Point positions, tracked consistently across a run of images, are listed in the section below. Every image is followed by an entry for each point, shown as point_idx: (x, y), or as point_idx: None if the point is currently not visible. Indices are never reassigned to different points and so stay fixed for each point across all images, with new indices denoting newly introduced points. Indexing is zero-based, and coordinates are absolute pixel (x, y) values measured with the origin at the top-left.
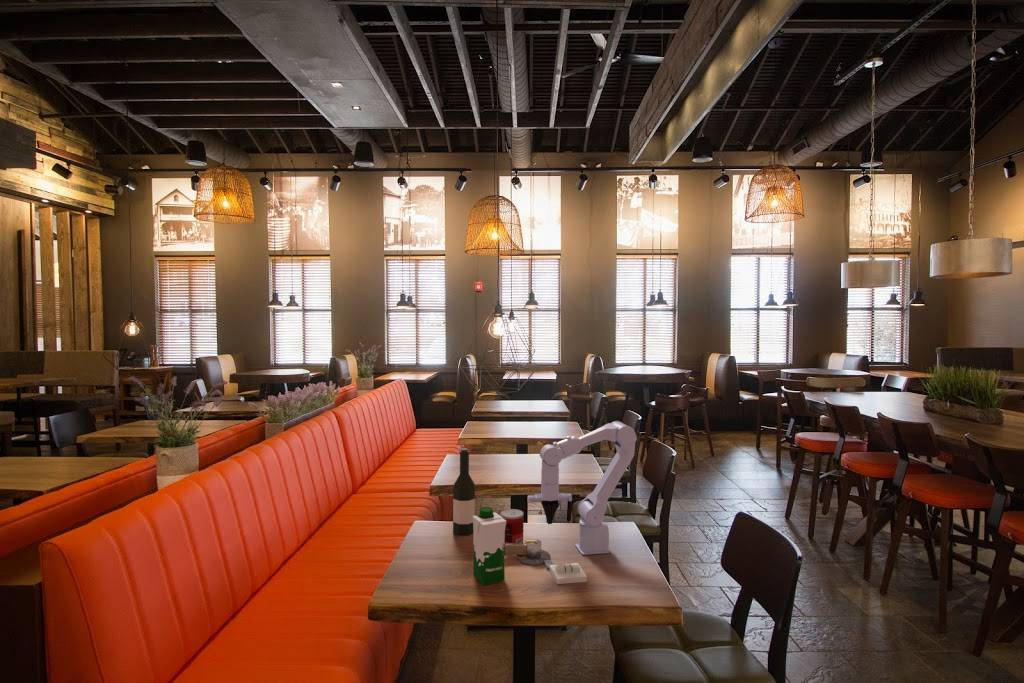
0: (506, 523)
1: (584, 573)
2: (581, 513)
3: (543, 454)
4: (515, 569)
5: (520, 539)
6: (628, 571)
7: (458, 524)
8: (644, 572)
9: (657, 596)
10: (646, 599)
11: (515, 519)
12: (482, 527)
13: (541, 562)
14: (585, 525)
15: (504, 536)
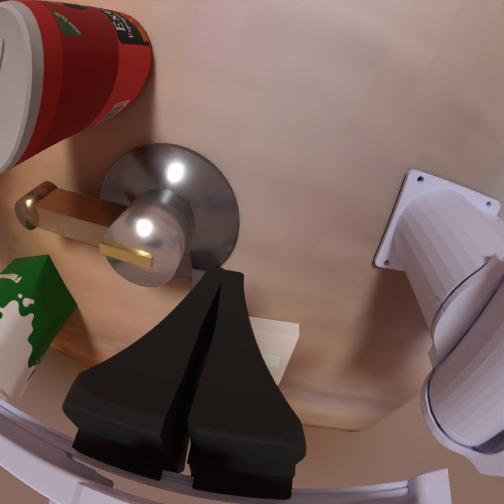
0: None
1: (281, 376)
2: (478, 351)
3: None
4: (99, 269)
5: (110, 114)
6: (408, 363)
7: None
8: (431, 370)
9: (369, 418)
10: (345, 421)
11: (1, 173)
12: None
13: (182, 275)
14: (434, 345)
15: (19, 385)
